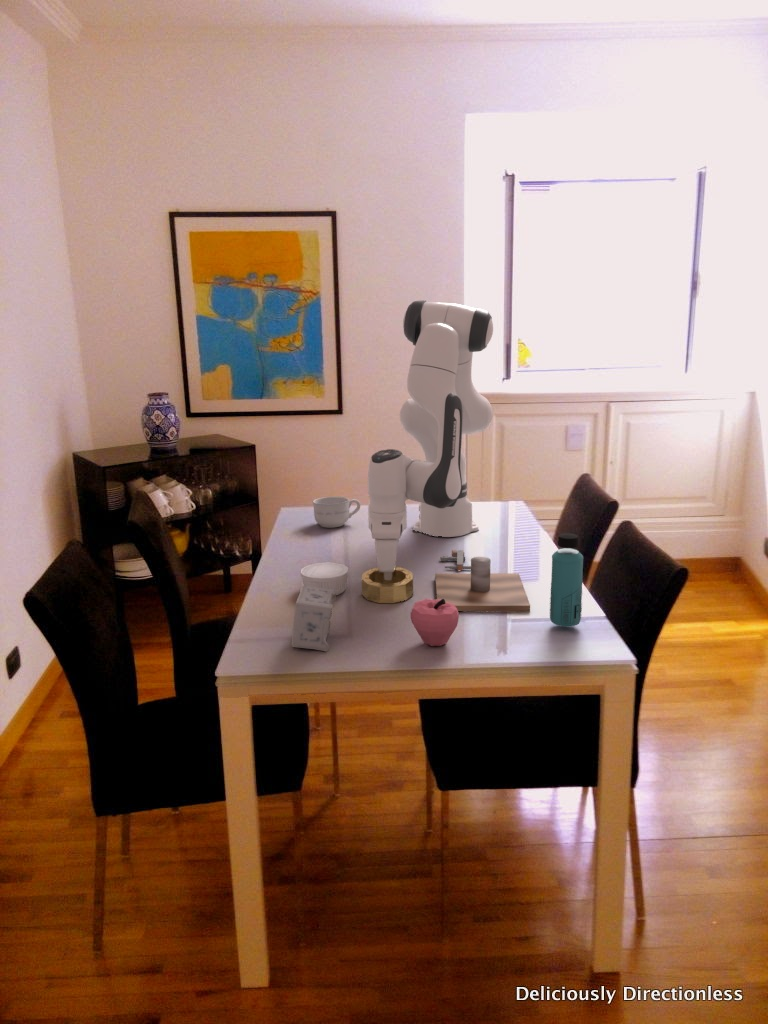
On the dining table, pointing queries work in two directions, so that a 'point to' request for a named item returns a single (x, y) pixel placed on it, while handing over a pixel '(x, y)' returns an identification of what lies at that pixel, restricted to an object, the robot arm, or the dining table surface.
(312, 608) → the incense holder
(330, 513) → the teacup
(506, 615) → the dining table surface
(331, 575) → the ramekin
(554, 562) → the beverage bottle
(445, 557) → the clamp
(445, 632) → the apple
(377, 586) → the wooden ring
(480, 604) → the piston stand
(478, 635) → the dining table surface
